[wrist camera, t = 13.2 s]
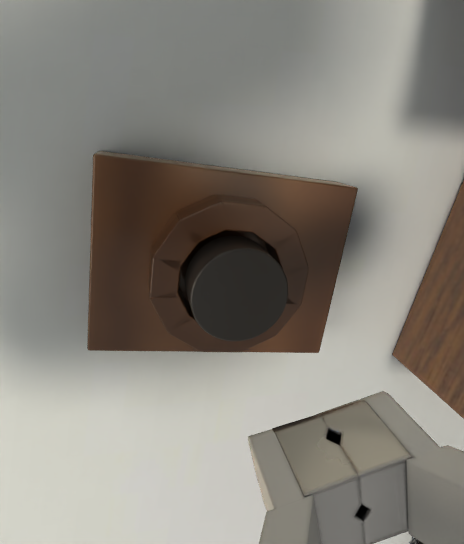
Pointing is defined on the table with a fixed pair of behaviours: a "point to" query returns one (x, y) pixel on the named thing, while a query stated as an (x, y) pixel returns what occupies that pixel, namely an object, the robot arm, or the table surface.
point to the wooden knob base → (195, 234)
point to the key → (235, 288)
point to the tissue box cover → (440, 317)
